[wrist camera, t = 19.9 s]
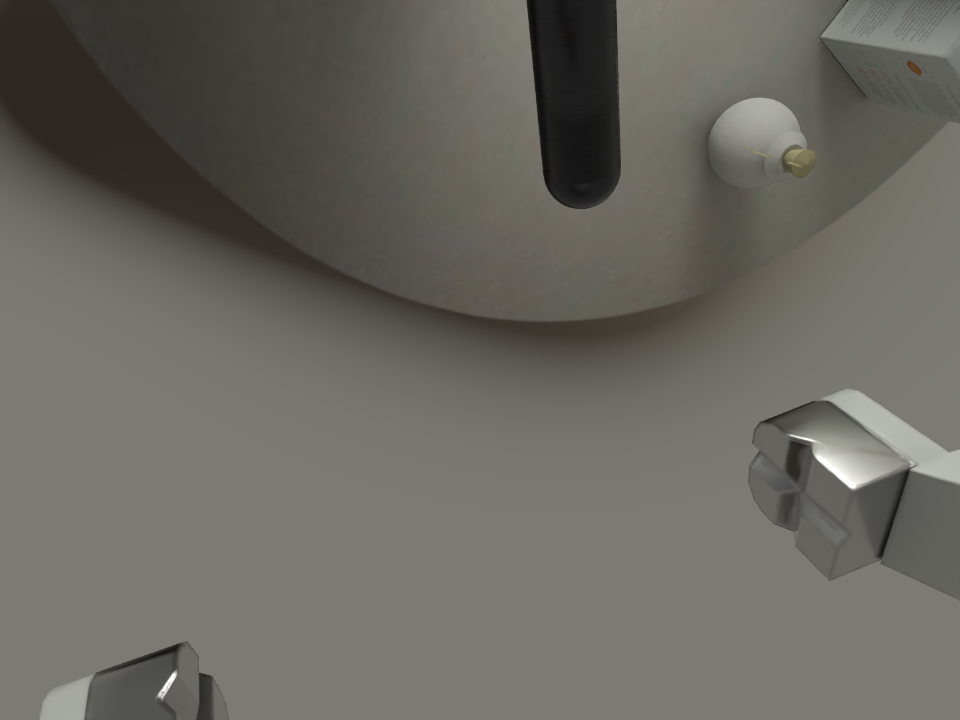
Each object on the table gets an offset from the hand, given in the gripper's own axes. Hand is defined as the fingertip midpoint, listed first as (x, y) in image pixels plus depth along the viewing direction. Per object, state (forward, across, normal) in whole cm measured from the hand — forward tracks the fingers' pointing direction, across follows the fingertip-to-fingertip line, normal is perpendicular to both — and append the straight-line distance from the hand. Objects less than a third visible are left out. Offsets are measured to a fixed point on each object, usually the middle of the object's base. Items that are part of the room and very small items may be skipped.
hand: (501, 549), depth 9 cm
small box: (+36, -42, +6) cm, 56 cm away
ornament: (+36, -30, +10) cm, 48 cm away
